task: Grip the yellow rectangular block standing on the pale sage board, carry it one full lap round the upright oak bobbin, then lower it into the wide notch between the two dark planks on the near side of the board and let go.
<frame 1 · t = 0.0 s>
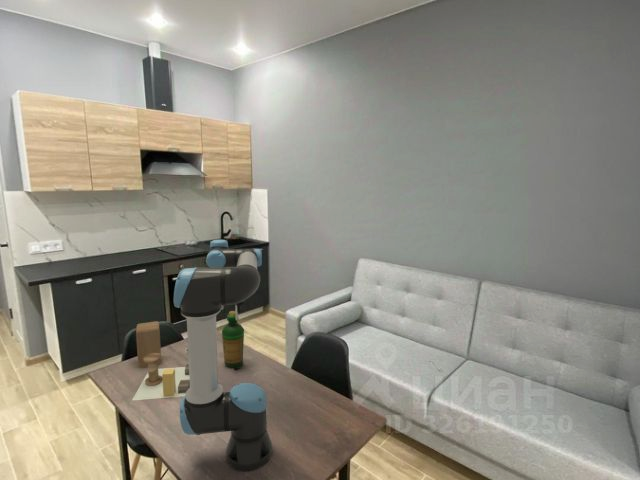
hand: (221, 319, 158), 28 cm above the table, fingers open, 13 cm apart
yellow rectangular block: (169, 393, 148), point 1 cm above the table, touching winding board
bottle: (233, 366, 172), on the table
bobbin: (154, 381, 156), resting on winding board
wooden block: (150, 363, 173), on the table
notch board: (187, 380, 157), resting on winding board
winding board: (167, 384, 156), on the table
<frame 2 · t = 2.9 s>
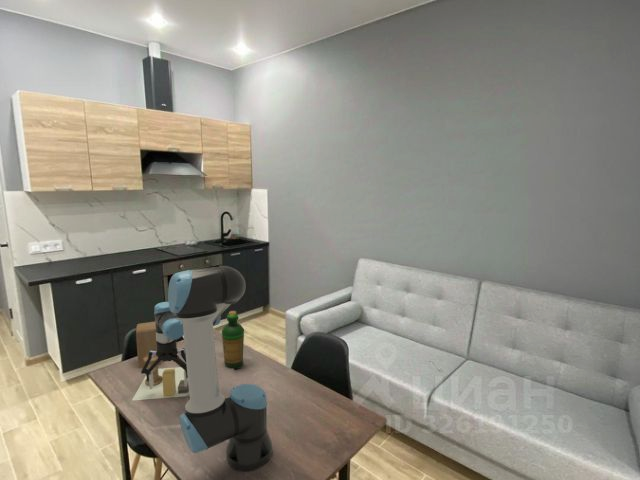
hand: (169, 386, 147), 4 cm above the table, fingers open, 13 cm apart
nothing on the table moved.
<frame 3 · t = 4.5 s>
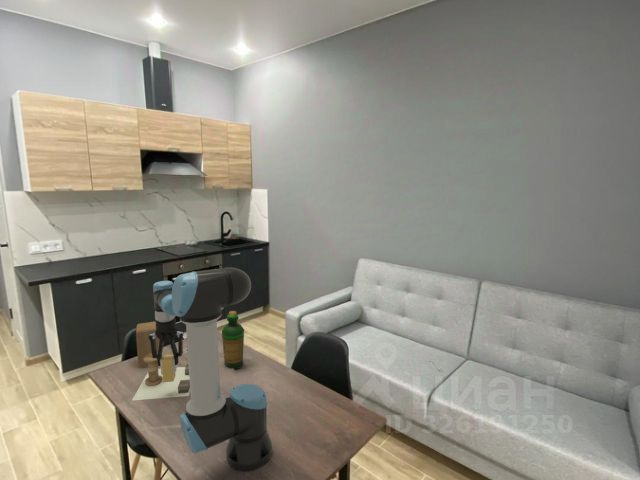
hand: (168, 372, 145), 11 cm above the table, fingers closed on yellow rectangular block, 4 cm apart
yellow rectangular block: (169, 379, 146), point 8 cm above the table, touching gripper
everything else where it was.
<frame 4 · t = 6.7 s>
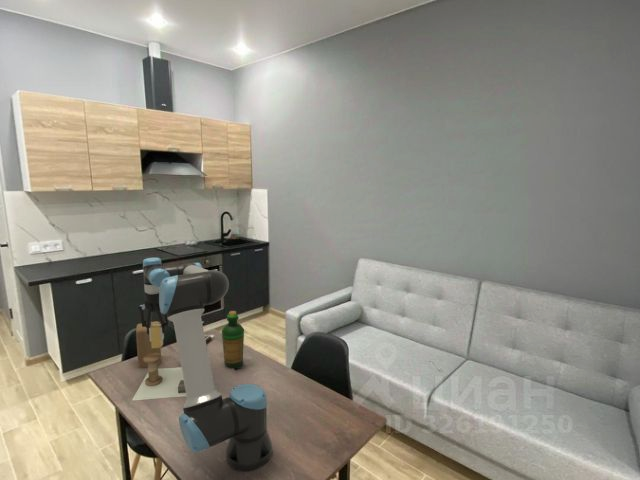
hand: (157, 339, 162), 17 cm above the table, fingers closed on yellow rectangular block, 4 cm apart
yellow rectangular block: (157, 346, 163), point 13 cm above the table, touching gripper
everything else where it was.
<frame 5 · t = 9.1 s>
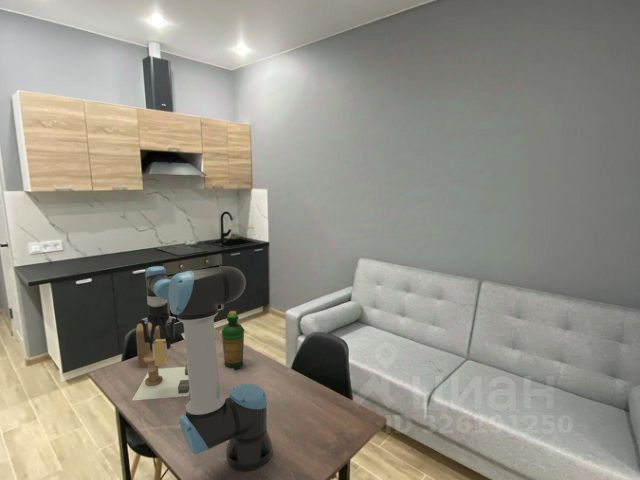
hand: (161, 356, 148), 16 cm above the table, fingers closed on yellow rectangular block, 4 cm apart
yellow rectangular block: (161, 363, 149), point 13 cm above the table, touching gripper
everything else where it was.
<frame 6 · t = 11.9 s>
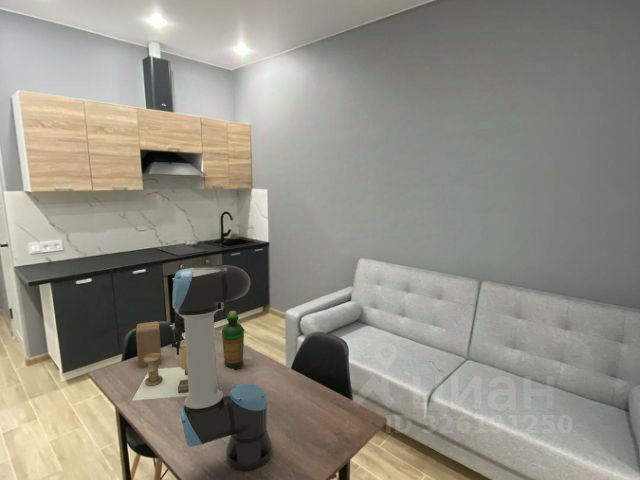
hand: (186, 360, 156), 11 cm above the table, fingers closed on yellow rectangular block, 4 cm apart
yellow rectangular block: (187, 366, 157), point 8 cm above the table, touching gripper
everything else where it was.
when the fingers open (3 cm above the table, at t = 13.9 s): yellow rectangular block stays where it is, resting on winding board.
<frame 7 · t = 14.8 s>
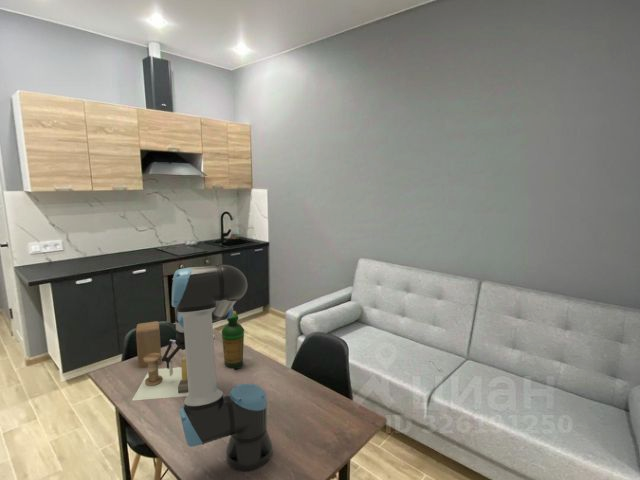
hand: (187, 373, 157), 5 cm above the table, fingers open, 13 cm apart
yellow rectangular block: (187, 379, 158), point 1 cm above the table, touching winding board
everything else where it was.
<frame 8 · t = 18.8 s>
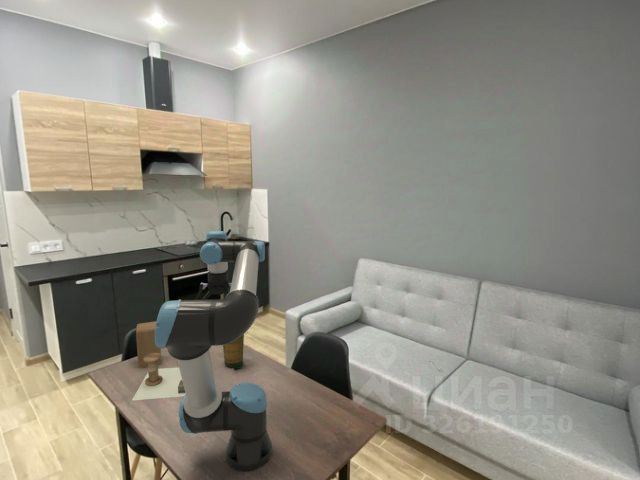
hand: (219, 322, 139), 35 cm above the table, fingers open, 13 cm apart
nothing on the table moved.
at the end: yellow rectangular block inside the target area on the notch board (0.4 cm from its centre), point 0.0 cm above the notch board's base; yellow rectangular block tilted 0°; the gripper is holding nothing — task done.
